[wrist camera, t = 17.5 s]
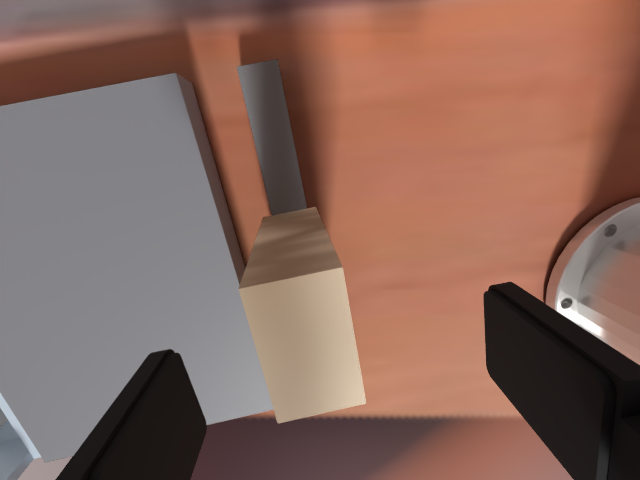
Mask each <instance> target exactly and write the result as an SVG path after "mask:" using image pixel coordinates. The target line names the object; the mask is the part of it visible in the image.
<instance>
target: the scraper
mask: <svg viewBox="0 0 640 480" xmlns="http://www.w3.org/2000/svg"><path fill="white" fill-rule="evenodd" d="M237 70H238V74H239V78H240V83H241V87H242V91H243V95H244V100H245V104H246V108H247V112H248V116H249V121H250V125H251V129H252V133H253V138H254V142H255V146H256V150H257V155H258V159H259V163H260V167H261V171H262V176H263V180H264V184H265V188H266V193H267V197H268V201H269V205H270V210H271V214H272V216H268V217H263V219H262V222H261V225H260V228H259V231H258V234H257V237H256V239H255V242H254V245H253V248H252V251H251V254H250V257H249V260H248V263H247V266H246V269H245V271H244V274H243V277H242V280H241V283H240V286H239V293H240V296H241V300H242V303H243V306H244V310H245V313H246V317H247V320H248V323H249V327H250V330H251V334H252V337H253V341H254V344H255V347H256V351H257V354H258V358H259V361H260V364H261V368H262V371H263V375H264V378H265V381H266V385H267V388H268V392H269V395H270V399H271V402H272V405H273V409H274V412H275V416H276V419H277V422H278V423H282V422H286V421H291V420H295V419H300V418H304V417H309V416H313V415H317V414H322V413H326V412H331V411H335V410H339V409H344V408H348V407H353V406H357V405H362V404H366V399H365V393H364V387H363V381H362V376H361V370H360V364H359V358H358V353H357V347H356V341H355V335H354V329H353V324H352V318H351V312H350V306H349V301H348V295H347V289H346V283H345V277H344V272H343V267H342V264H341V262H340V260H339V258H338V255H337V253H336V251H335V249H334V246H333V244H332V242H331V240H330V237H329V235H328V233H327V231H326V228H325V226H324V224H323V222H322V219H321V217H320V215H319V213H318V210H317V208H316V207H313V208H308V209H307V205H306V200H305V195H304V190H303V185H302V180H301V175H300V170H299V165H298V160H297V155H296V150H295V145H294V140H293V135H292V130H291V125H290V120H289V115H288V110H287V105H286V100H285V95H284V89H283V84H282V79H281V74H280V69H279V64H278V59H276V60H271V61H265V62H260V63H254V64H249V65H243V66H238V67H237Z"/></svg>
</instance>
